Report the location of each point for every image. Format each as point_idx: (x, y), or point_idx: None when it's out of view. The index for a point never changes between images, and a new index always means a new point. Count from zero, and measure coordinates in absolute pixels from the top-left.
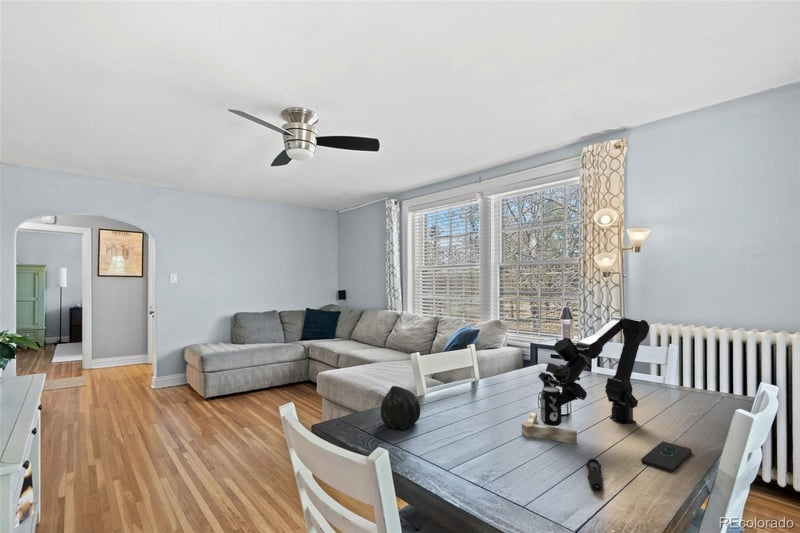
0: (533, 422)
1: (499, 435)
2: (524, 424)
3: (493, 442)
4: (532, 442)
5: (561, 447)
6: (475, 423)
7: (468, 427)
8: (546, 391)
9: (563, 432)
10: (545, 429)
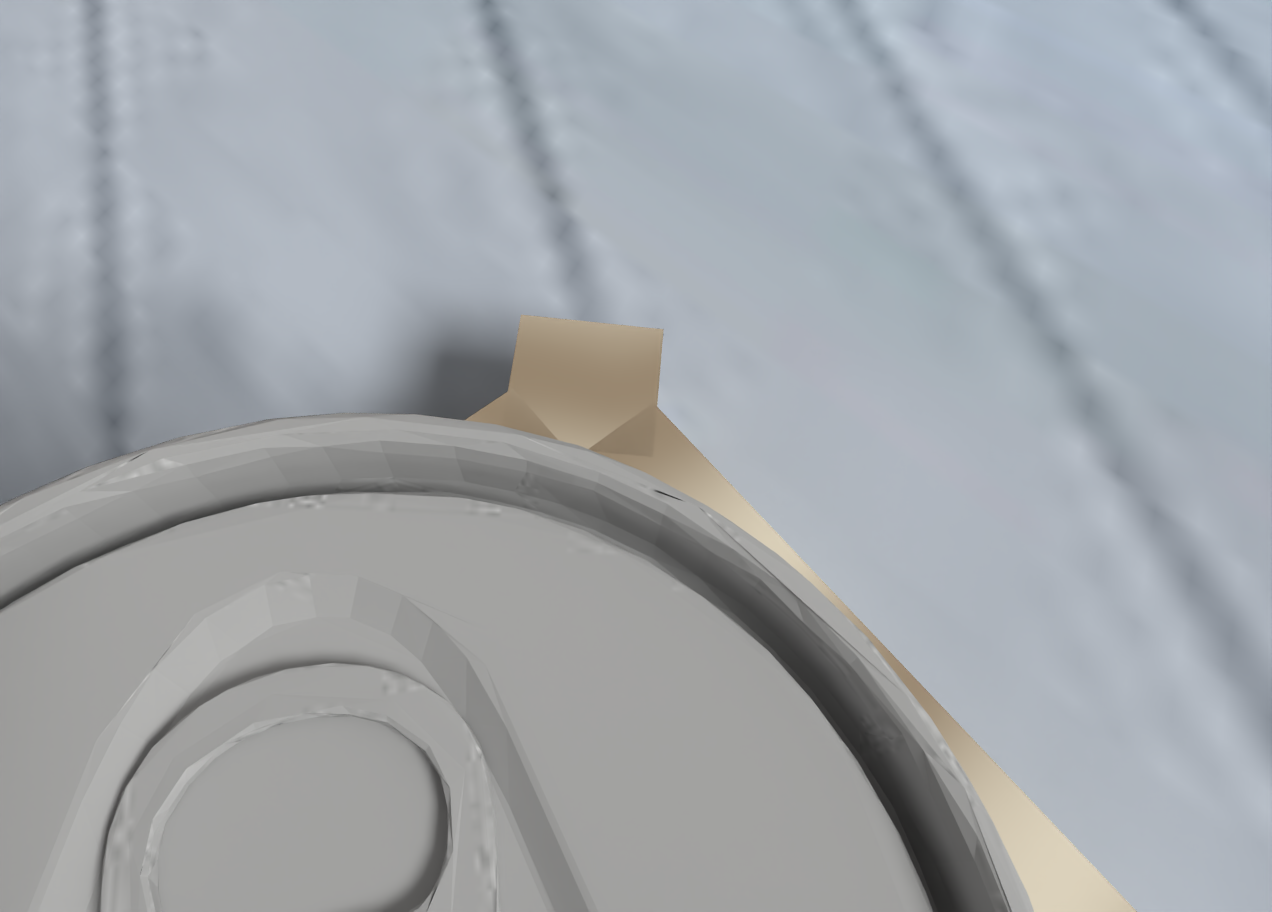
0: None
1: (719, 172)
2: (612, 338)
3: (589, 36)
4: (374, 345)
5: None
6: (1132, 164)
7: (1028, 55)
8: (272, 465)
9: None
10: None
